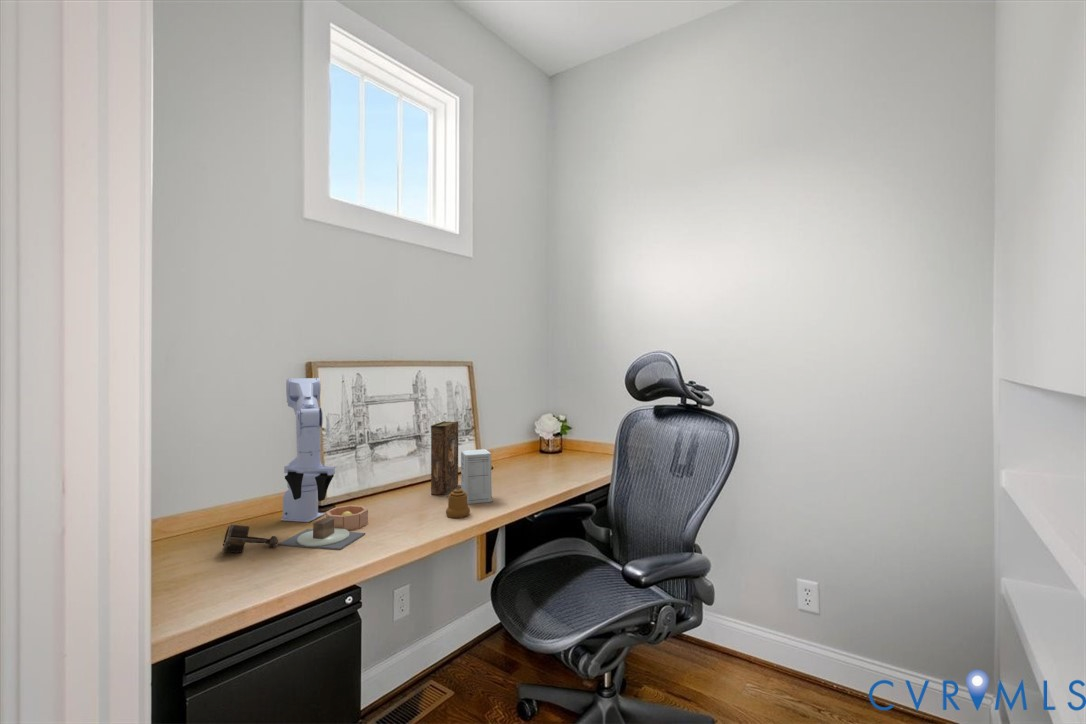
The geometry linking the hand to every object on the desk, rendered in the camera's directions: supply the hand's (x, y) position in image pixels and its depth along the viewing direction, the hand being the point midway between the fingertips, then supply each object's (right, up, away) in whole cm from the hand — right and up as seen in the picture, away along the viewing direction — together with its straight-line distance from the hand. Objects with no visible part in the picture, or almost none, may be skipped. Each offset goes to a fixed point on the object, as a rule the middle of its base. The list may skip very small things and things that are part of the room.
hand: (309, 499), depth 142 cm
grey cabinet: (+42, -10, +35) cm, 56 cm away
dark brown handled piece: (-9, -10, -13) cm, 19 cm away
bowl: (+8, -9, +8) cm, 14 cm away
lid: (+6, -9, -5) cm, 12 cm away
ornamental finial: (+39, -10, +17) cm, 44 cm away
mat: (+6, -9, -5) cm, 12 cm away
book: (+29, -10, +49) cm, 57 cm away
